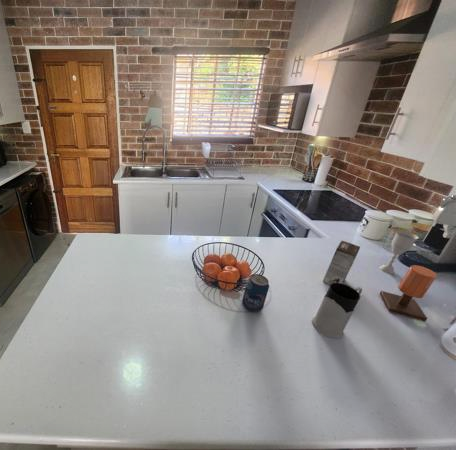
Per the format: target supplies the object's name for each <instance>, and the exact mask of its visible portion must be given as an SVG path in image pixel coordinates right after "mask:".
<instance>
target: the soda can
mask: <svg viewBox="0 0 456 450" xmlns="http://www.w3.org/2000/svg"><path fill="white" fill-rule="evenodd" d="M269 289H270V284H269V279H268V278H267V277H265V276H264V275H262V274H258V273H254V274H251V275H250V276H249V278H247V281H246V284H245V287H244V292H243V296H242V300H241V302H242V305H243V307H244V309H245V310H246V311H248V312H250V313H255V314H256V313H259V312H261V311H262V310H263V308H264V305H265V303H266V299H267V295H268V293H269Z"/></svg>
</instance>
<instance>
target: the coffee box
mask: <svg viewBox="0 0 456 450" xmlns="http://www.w3.org/2000/svg"><path fill="white" fill-rule="evenodd" d="M360 249H361V246H359V245H357V244H354V243H351V242H348V241H346V240H340V241H339V244H338V246H337V247H336V249H335V252H334V254H333V256H332V259H331V261H330V263H329V265H328V268H327V270H326V272H325V275H324V277H323V279H322V283H325V284H327V285H329V286H330V285H331V284H332V283H341V284H344V282H345V281H346V279H347V276H348V275H349V272H350V270H351V268H352V267H353V264H354V262H355V260H356V258H357V257H358V254H359V251H360Z"/></svg>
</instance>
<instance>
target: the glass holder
mask: <svg viewBox="0 0 456 450" xmlns="http://www.w3.org/2000/svg"><path fill="white" fill-rule="evenodd" d="M362 292H363V288H361V287H360V286H359V287H356V288H353V287H351V286H350V285H347V284H345V283H343V284H341V283H332V284H331V285H329V287H328V289H327V291H326V294H325V295H324V297H323V298H322V301H321V303H320V305H319V307H318V310H317V312H316V314H315V316H314V317H313V318H312V319H311V324H312V326H313V328H315V330H316V331H317V332H318V333H320V334H322V335H323V336H326V337H328V338H331V339H341V338H342V337H343V336H344V330H345V328H346V327H347V325H348V323H349V321H350V320H351V318H352V315H353V313H354V312H355V308H356V306H357V304H358V303H359V302H360V299H361V295H362Z"/></svg>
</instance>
